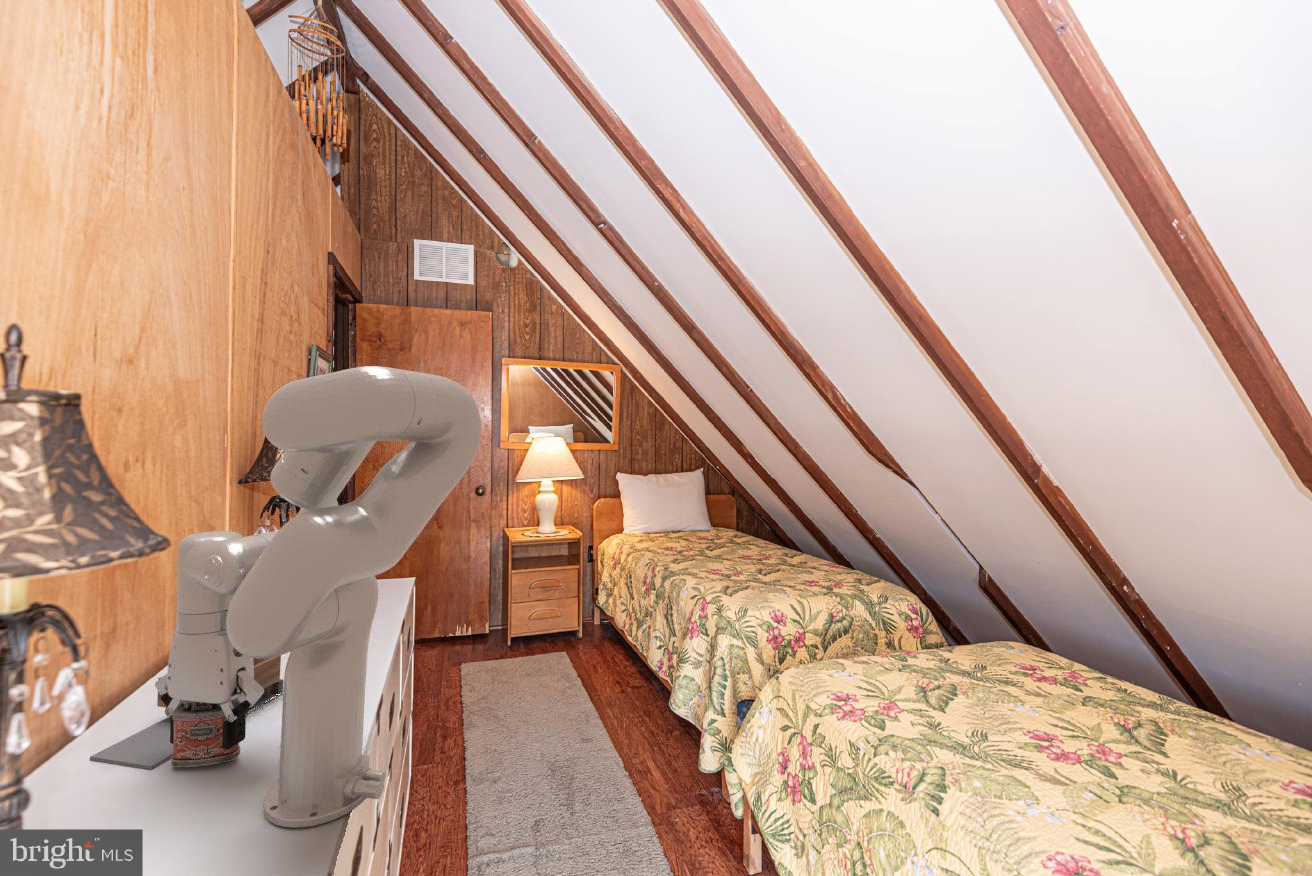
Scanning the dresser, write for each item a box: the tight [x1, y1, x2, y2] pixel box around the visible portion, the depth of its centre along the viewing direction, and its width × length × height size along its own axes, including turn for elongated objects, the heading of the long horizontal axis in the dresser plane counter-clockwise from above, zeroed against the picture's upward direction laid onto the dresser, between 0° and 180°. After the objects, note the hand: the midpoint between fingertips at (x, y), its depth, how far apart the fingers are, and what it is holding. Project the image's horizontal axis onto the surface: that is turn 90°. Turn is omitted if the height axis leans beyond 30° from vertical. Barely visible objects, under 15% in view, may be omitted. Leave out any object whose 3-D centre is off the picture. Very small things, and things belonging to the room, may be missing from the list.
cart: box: [156, 655, 282, 717], centre depth 96 cm, size 11×13×7 cm
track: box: [89, 678, 284, 771], centre depth 92 cm, size 10×24×2 cm, turn 172°
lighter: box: [171, 692, 241, 768], centre depth 81 cm, size 8×3×10 cm, turn 107°
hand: (208, 741), depth 82 cm, fingers closed on lighter, 7 cm apart
